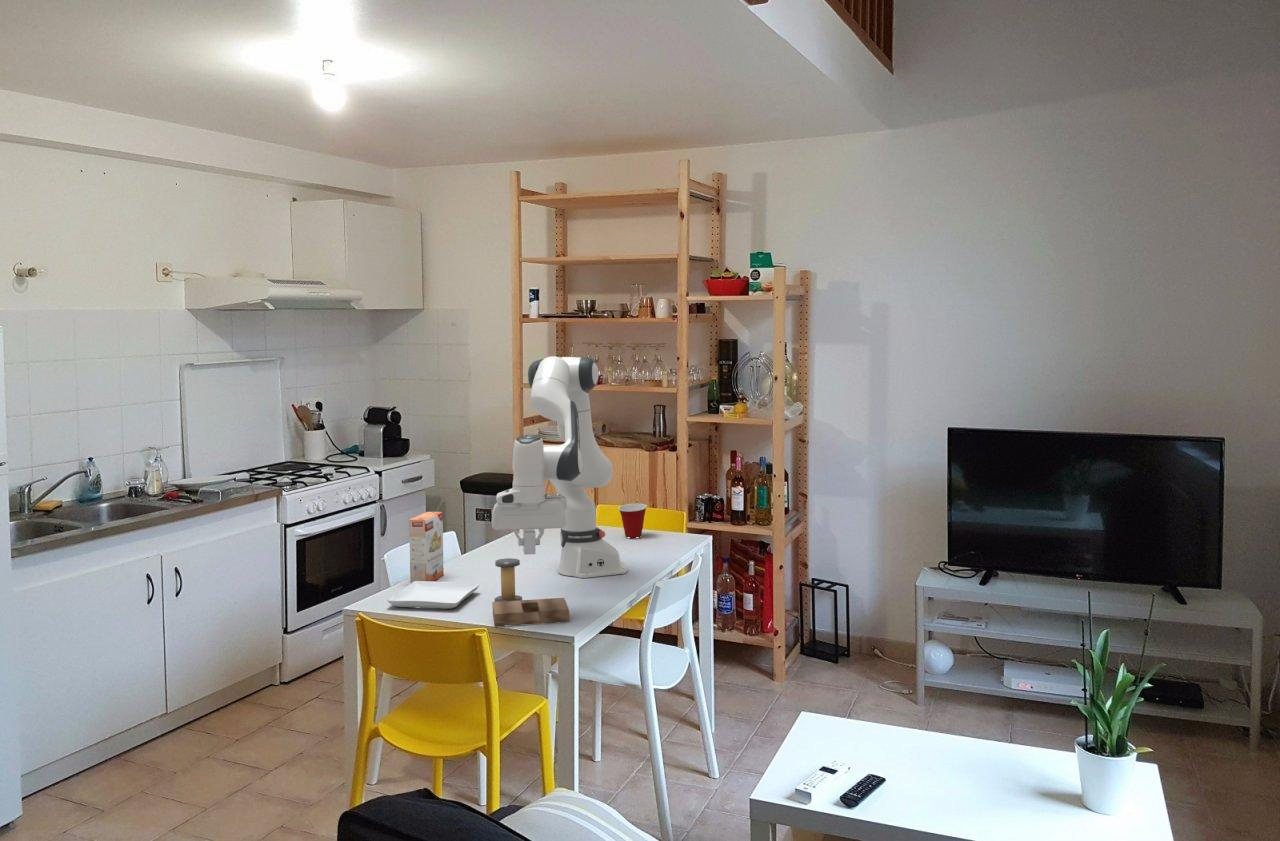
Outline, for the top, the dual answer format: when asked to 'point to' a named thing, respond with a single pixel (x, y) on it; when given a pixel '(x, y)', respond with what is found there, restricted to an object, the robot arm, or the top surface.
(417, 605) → the salad plate
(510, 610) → the notched board
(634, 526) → the plastic cup
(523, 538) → the robot arm
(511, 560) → the bobbin
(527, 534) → the steel tab
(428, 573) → the cracker box
